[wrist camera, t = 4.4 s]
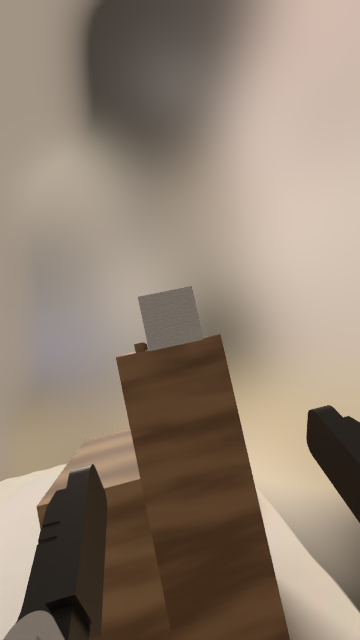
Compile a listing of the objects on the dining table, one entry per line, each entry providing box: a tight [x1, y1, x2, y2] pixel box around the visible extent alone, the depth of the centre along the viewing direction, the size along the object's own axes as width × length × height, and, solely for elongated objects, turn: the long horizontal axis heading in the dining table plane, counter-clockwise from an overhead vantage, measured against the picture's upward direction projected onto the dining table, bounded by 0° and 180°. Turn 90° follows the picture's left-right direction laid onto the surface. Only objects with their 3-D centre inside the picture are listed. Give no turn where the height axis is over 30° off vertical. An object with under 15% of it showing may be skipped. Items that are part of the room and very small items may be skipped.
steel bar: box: [138, 287, 204, 351], centre depth 30 cm, size 24×4×4 cm, turn 5°
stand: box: [37, 335, 290, 640], centre depth 35 cm, size 18×19×34 cm
